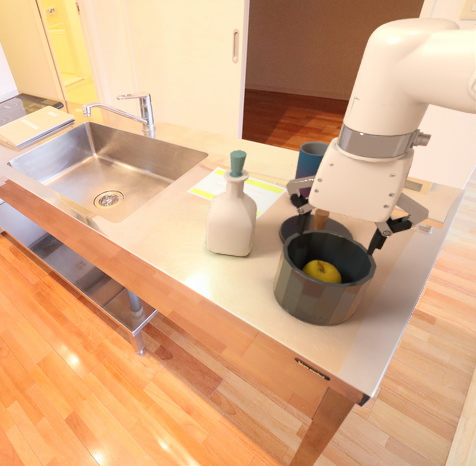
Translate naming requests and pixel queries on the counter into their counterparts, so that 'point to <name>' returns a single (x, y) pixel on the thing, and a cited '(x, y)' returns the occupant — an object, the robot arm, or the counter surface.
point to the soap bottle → (232, 213)
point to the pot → (316, 291)
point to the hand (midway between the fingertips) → (334, 239)
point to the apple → (322, 271)
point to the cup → (309, 162)
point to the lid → (313, 225)
